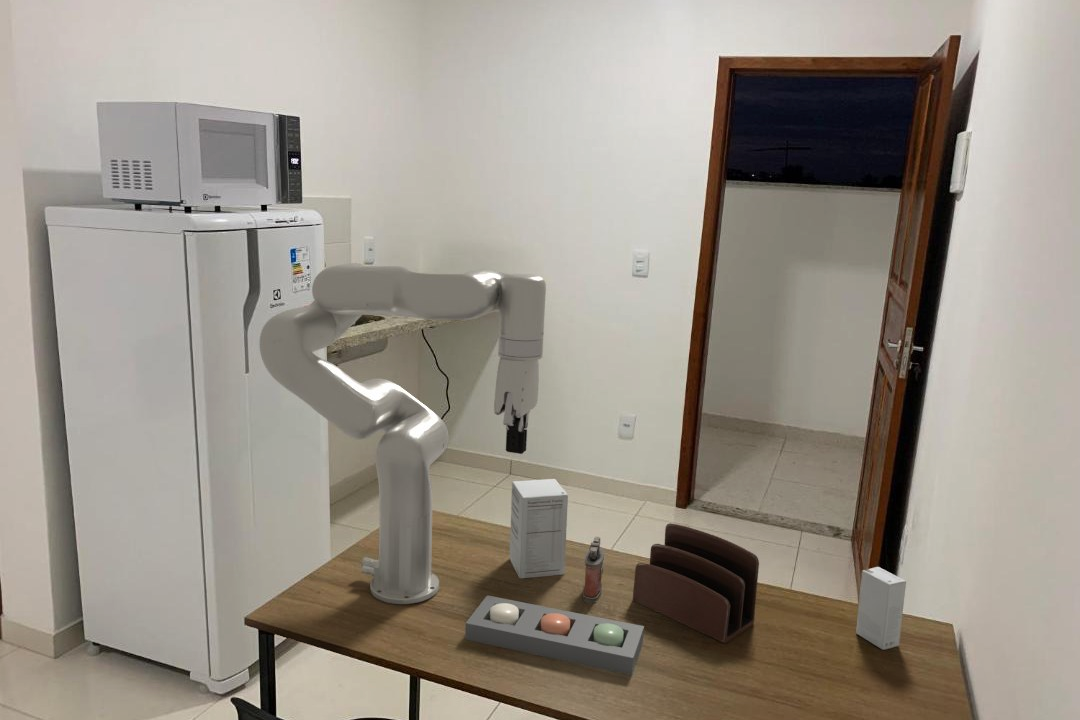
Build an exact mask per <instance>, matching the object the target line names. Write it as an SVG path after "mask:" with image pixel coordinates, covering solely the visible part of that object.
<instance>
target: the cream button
mask: <svg viewBox="0 0 1080 720" xmlns="http://www.w3.org/2000/svg"><path fill="white" fill-rule="evenodd" d="M518 616H519V609H518V608H517V607H516V606H514V605H512V604H508V603H500V604H496V605H494V606H492V607H491V609H490V621H494V622H499V623H504V624H509V625H514V626H515V624H516V623H517V621H518Z"/></svg>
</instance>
